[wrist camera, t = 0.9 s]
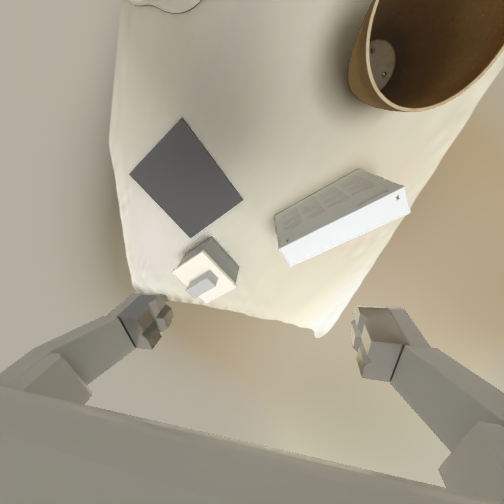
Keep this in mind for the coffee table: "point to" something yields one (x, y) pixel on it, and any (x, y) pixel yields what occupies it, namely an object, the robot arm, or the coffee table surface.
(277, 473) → the robot arm
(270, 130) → the coffee table surface
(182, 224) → the black rubber mat
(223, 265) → the grey storage box
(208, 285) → the cream lid
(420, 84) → the plant pot
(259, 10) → the coffee table surface
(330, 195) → the skincare box
